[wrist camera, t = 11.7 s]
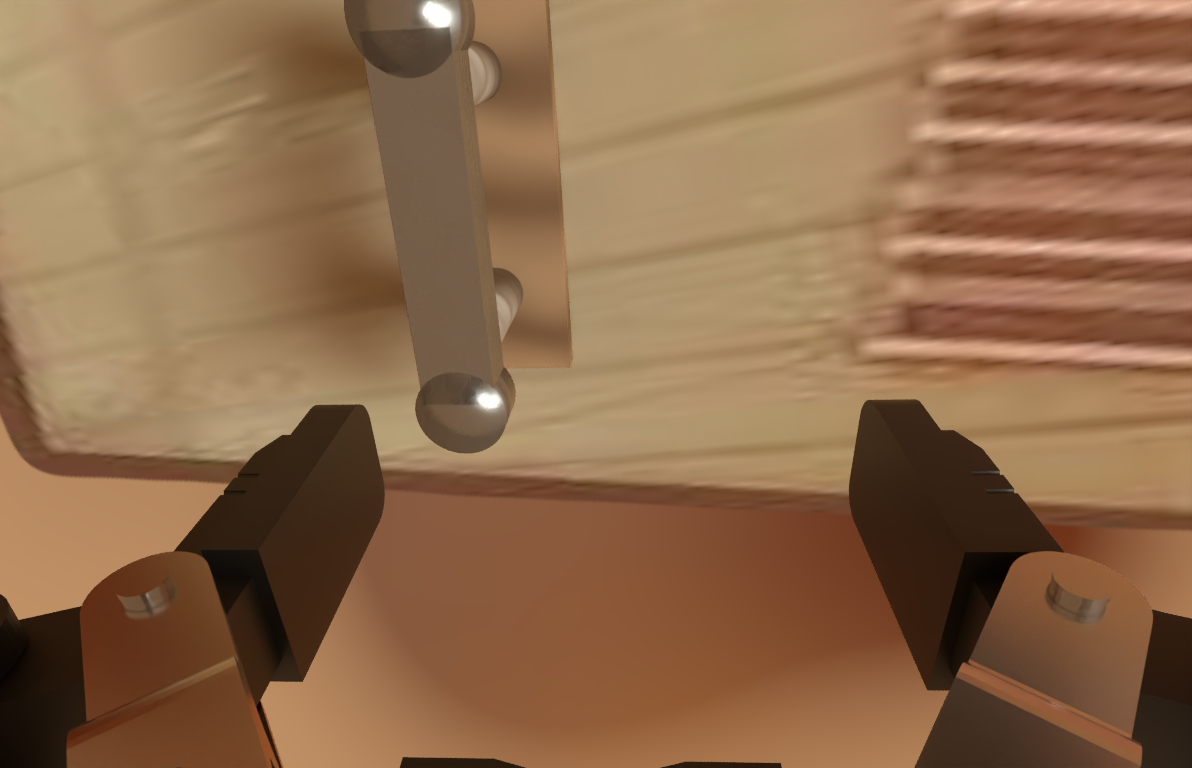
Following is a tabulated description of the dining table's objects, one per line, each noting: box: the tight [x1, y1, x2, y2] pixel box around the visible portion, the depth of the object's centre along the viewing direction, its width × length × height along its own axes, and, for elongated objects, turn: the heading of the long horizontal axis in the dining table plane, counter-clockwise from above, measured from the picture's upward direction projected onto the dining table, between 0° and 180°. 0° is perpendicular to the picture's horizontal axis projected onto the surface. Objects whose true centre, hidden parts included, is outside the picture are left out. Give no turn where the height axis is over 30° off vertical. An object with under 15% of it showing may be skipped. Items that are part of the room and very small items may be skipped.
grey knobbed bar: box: [344, 0, 515, 453], centre depth 31 cm, size 21×4×2 cm, turn 3°
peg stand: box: [468, 0, 573, 369], centre depth 37 cm, size 22×8×10 cm, turn 3°
